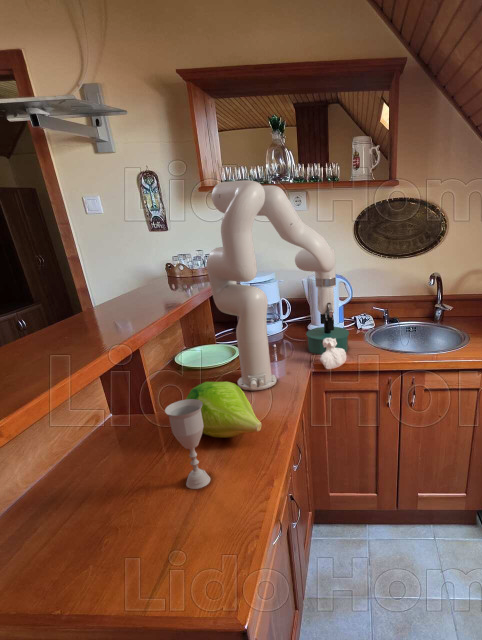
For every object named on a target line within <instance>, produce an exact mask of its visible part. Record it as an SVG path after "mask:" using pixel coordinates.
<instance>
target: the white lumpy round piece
mask: <svg viewBox="0 0 482 640" xmlns="http://www.w3.org/2000/svg"><path fill="white" fill-rule="evenodd" d="M336 345H337V342H336V338H335V339H332V338H325V339H324V340H323V346H324V348H325V347H326V352H324V353H323V354H322V355H320V358H319V361H320V363H321V364H322V365H323V367H324V369H325V370H332V369H336V368H339V367H341V366H343V365H344V363H346V361H347V351H346V352H345V350H344V349H342V348H335V346H336Z"/></svg>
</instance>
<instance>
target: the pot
mask: <svg viewBox="0 0 482 640" xmlns="http://www.w3.org/2000/svg"><path fill="white" fill-rule="evenodd" d="M306 339H307V350H308V351H309V352H310V353H312V354H315V355H320V356H321V355H322V354H323V353H324V352H326V347H325V348H324V346H323V340H315V339H311V338H309V337H307V336H306ZM336 342H337V345H336V346H335V348H342V349H344V350H345V352H346V353H347V352H348V349H349V335H348V336H346V337H344V338H342V339H337V340H336Z"/></svg>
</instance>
